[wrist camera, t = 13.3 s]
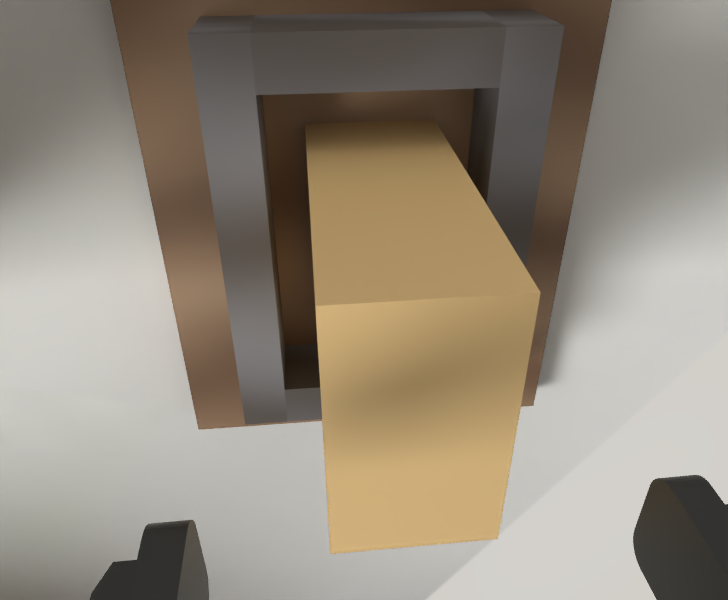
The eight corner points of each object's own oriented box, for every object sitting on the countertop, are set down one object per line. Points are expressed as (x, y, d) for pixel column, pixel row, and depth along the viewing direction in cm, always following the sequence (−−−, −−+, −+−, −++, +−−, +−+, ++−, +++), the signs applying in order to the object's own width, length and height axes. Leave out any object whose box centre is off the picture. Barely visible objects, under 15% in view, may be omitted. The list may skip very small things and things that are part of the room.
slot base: (525, 389, 28) (553, 449, 25) (201, 412, 26) (190, 477, 24) (614, -96, 18) (678, -92, 15) (101, -92, 17) (61, -87, 14)
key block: (434, 119, 19) (540, 292, 11) (424, 306, 23) (497, 539, 15) (305, 124, 19) (315, 306, 11) (316, 313, 23) (330, 554, 15)
